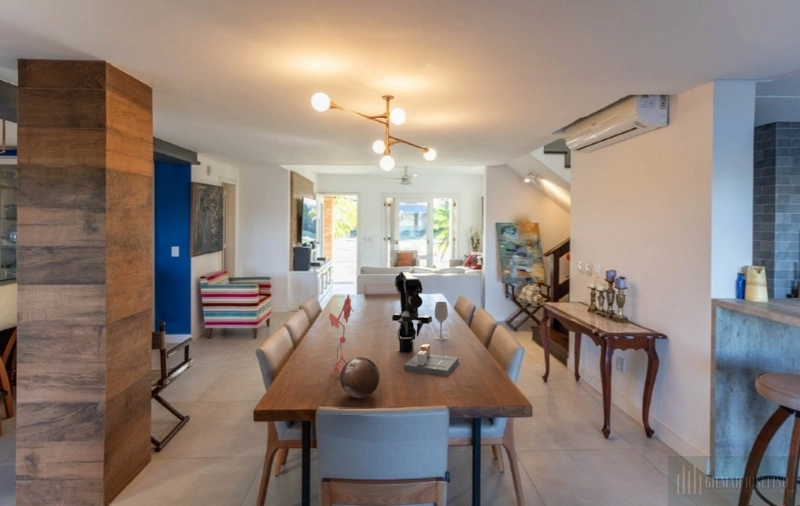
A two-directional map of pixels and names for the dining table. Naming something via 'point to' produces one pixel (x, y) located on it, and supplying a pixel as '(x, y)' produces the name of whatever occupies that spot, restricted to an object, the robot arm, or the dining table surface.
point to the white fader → (421, 357)
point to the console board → (433, 365)
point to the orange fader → (426, 348)
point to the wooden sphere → (359, 377)
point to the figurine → (336, 322)
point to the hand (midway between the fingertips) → (411, 335)
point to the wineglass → (441, 316)
